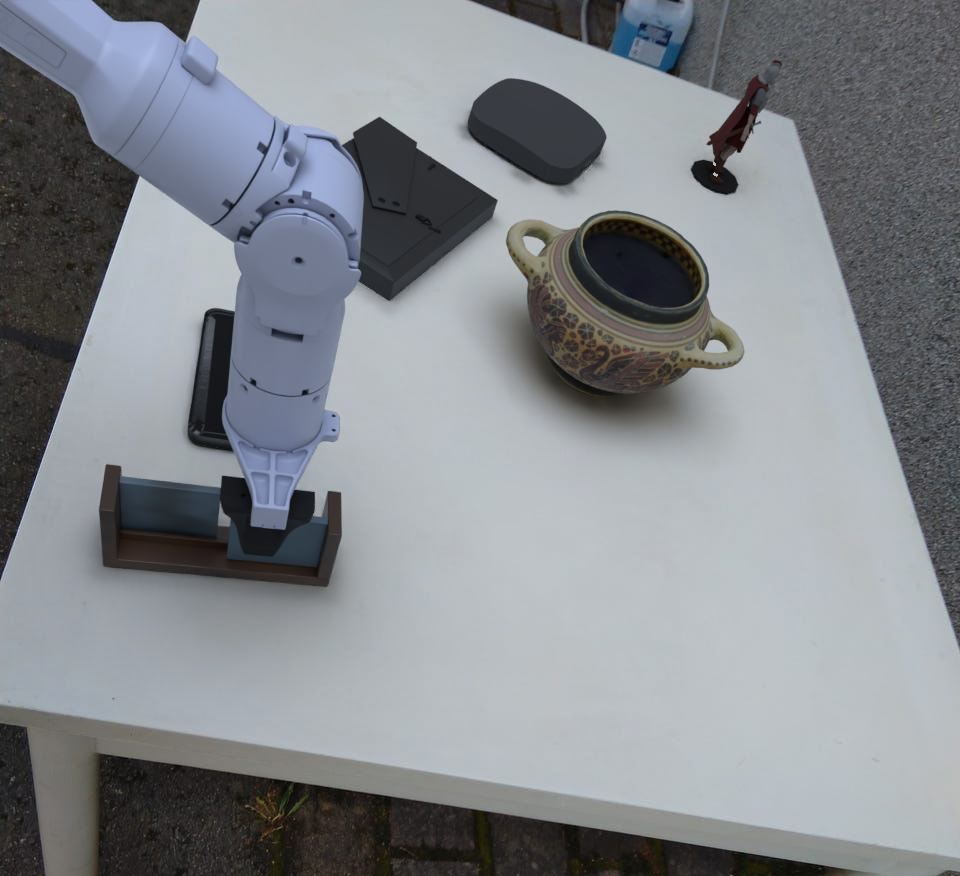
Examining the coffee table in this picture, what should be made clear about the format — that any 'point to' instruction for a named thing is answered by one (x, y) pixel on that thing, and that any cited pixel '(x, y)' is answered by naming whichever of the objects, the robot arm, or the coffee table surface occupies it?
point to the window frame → (191, 532)
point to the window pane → (287, 545)
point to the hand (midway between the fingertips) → (260, 508)
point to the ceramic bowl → (620, 303)
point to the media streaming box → (537, 129)
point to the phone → (212, 380)
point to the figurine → (735, 133)
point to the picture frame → (409, 207)
